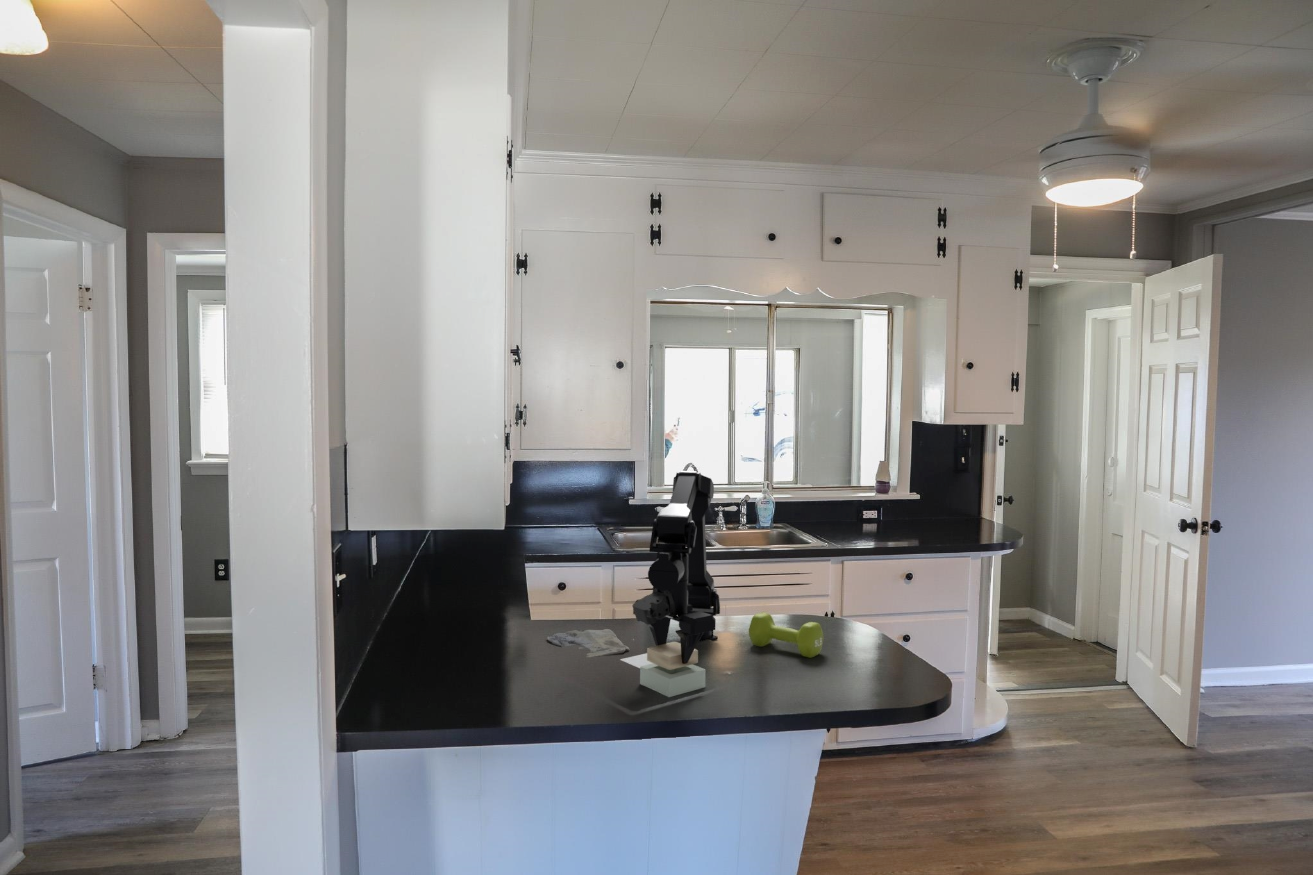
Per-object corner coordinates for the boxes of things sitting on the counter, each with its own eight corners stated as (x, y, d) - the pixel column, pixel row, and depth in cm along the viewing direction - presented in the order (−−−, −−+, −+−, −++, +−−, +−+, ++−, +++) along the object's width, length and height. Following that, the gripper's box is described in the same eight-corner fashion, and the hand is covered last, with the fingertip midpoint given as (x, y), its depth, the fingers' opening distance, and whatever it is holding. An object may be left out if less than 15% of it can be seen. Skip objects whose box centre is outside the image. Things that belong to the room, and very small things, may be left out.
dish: (675, 677, 168) (675, 657, 168) (705, 689, 161) (705, 669, 160) (640, 686, 162) (640, 666, 162) (669, 700, 155) (669, 678, 155)
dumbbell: (744, 647, 189) (745, 615, 189) (763, 639, 195) (764, 609, 195) (809, 662, 179) (809, 628, 178) (826, 653, 185) (827, 621, 184)
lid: (674, 653, 166) (674, 641, 166) (697, 662, 161) (698, 650, 160) (647, 660, 162) (647, 647, 162) (669, 670, 156) (669, 656, 156)
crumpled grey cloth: (632, 657, 182) (632, 646, 182) (565, 665, 177) (565, 654, 177) (608, 635, 199) (608, 625, 199) (546, 641, 193) (546, 631, 193)
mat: (656, 653, 183) (656, 650, 183) (685, 665, 175) (685, 662, 175) (619, 662, 177) (619, 659, 177) (648, 674, 169) (648, 671, 169)
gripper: (611, 575, 163) (611, 654, 164) (671, 594, 148) (670, 680, 149) (656, 568, 170) (655, 644, 170) (717, 585, 155) (717, 668, 156)
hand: (672, 658), depth 161 cm, fingers closed on lid, 7 cm apart
